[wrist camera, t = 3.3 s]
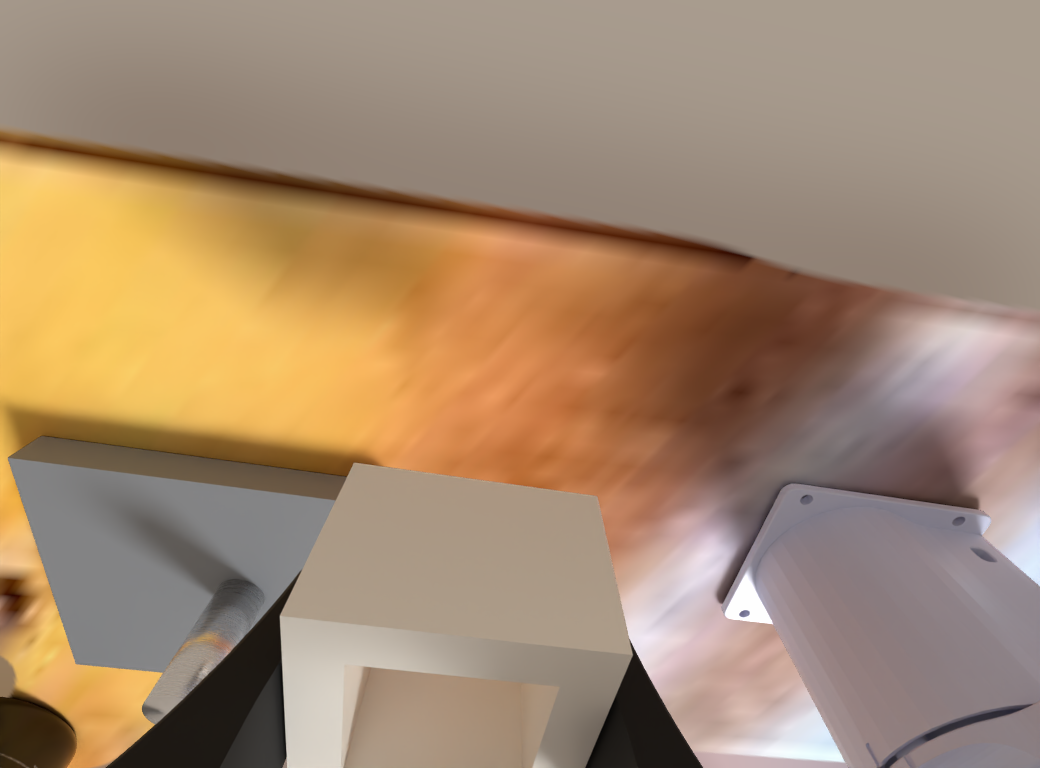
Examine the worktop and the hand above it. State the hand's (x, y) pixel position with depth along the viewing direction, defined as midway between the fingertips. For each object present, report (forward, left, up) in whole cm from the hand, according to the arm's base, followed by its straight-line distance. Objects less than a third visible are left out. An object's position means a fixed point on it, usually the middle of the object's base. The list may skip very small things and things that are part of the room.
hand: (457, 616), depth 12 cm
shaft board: (+10, +10, -9) cm, 17 cm away
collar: (0, 0, -1) cm, 1 cm away
